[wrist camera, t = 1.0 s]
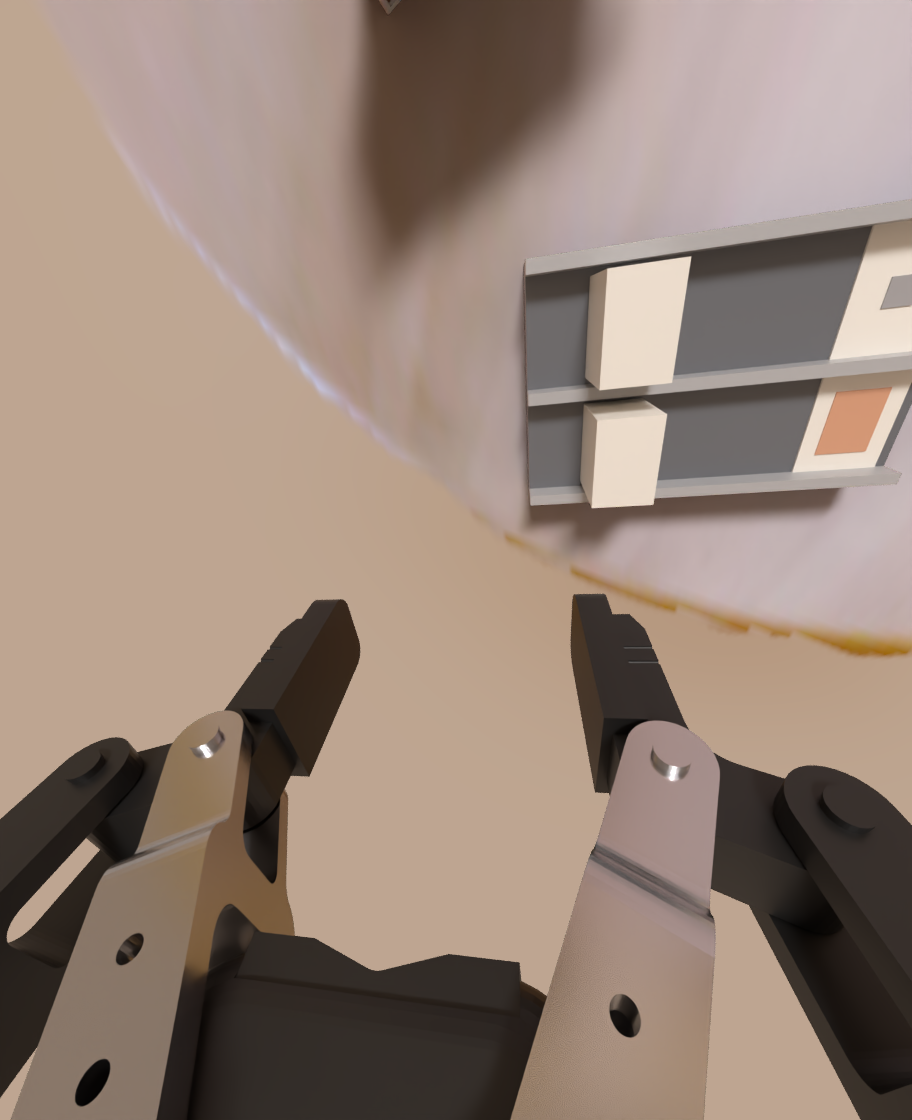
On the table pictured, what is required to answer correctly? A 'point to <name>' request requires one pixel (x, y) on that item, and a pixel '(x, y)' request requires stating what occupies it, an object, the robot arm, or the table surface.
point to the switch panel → (742, 356)
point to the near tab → (635, 323)
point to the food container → (389, 5)
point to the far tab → (621, 452)
